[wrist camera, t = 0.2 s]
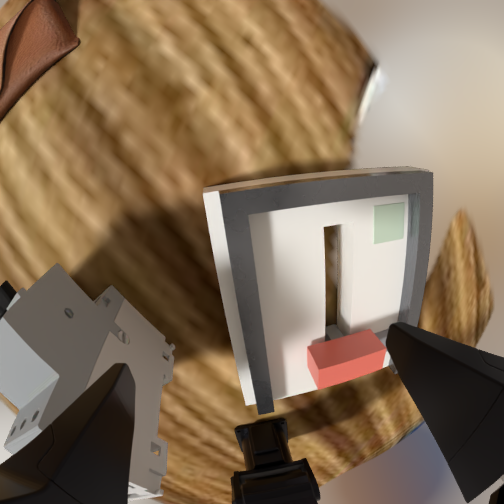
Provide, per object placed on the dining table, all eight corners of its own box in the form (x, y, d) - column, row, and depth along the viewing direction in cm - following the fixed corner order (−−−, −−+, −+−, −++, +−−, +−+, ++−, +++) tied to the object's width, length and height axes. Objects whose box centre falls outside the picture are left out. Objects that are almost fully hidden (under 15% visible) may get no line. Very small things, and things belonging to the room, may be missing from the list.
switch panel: (393, 343, 29) (406, 359, 26) (242, 384, 27) (246, 406, 25) (407, 166, 22) (430, 170, 19) (203, 187, 20) (202, 193, 17)
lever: (356, 334, 26) (382, 368, 21) (299, 349, 26) (318, 389, 20) (357, 314, 25) (386, 348, 20) (298, 329, 25) (318, 369, 20)
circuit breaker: (65, 230, 19) (-58, 330, 6) (175, 346, 25) (166, 496, 11) (26, 280, 20) (-65, 380, 6) (126, 378, 25) (101, 505, 11)
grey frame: (399, 361, 26) (406, 369, 25) (256, 403, 25) (258, 414, 23) (421, 170, 19) (433, 172, 18) (218, 190, 18) (219, 194, 16)
